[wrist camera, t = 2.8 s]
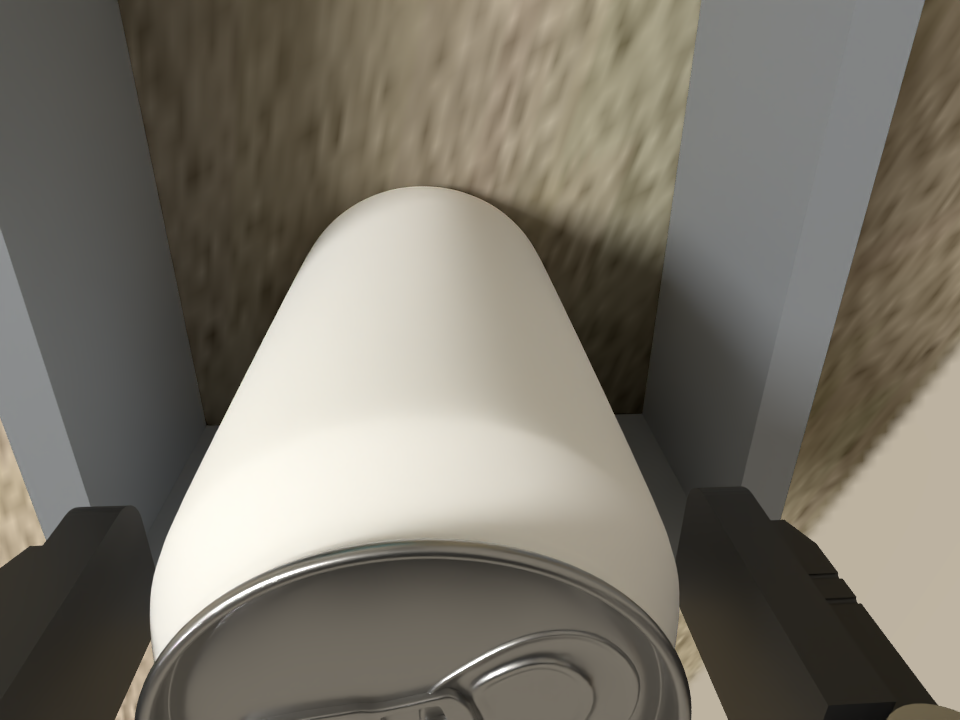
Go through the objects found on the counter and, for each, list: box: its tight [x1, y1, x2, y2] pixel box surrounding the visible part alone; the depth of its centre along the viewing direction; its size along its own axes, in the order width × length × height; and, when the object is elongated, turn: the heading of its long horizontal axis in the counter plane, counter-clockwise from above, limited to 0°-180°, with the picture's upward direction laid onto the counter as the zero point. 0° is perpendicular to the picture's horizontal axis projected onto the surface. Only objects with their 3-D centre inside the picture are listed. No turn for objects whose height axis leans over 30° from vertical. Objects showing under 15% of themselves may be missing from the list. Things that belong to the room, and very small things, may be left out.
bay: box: [0, 0, 925, 569], centre depth 14 cm, size 14×14×6 cm
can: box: [135, 186, 691, 720], centre depth 12 cm, size 6×6×12 cm
